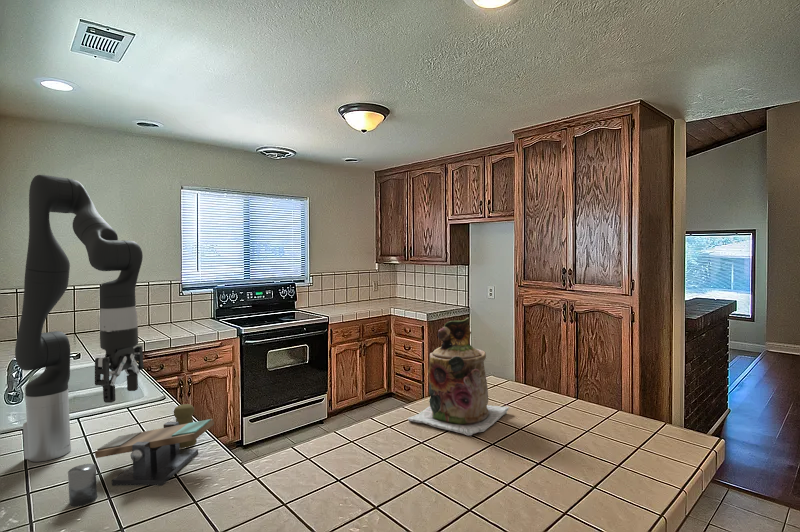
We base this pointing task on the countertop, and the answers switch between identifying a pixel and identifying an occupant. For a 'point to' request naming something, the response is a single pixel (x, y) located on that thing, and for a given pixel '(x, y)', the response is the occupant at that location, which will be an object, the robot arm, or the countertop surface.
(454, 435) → the countertop surface
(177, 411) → the olive brown waisted cylinder
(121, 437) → the beam
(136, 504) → the countertop surface
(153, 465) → the seesaw stand
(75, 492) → the cylinder
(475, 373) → the cookie jar
